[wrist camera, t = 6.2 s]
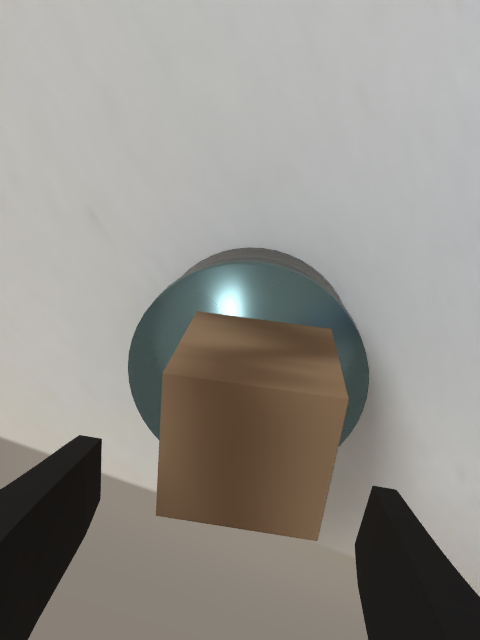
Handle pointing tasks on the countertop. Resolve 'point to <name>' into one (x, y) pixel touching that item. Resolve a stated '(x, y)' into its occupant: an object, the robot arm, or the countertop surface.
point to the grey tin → (251, 302)
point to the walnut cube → (250, 425)
